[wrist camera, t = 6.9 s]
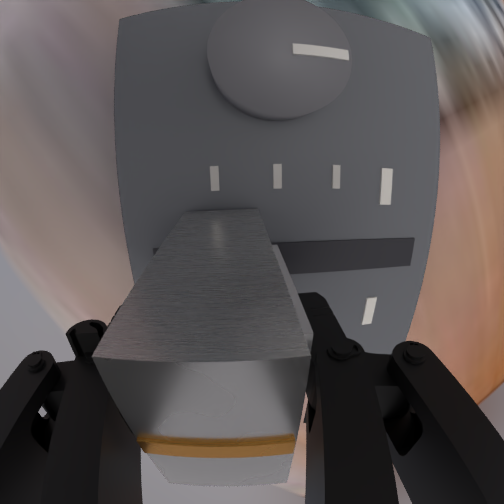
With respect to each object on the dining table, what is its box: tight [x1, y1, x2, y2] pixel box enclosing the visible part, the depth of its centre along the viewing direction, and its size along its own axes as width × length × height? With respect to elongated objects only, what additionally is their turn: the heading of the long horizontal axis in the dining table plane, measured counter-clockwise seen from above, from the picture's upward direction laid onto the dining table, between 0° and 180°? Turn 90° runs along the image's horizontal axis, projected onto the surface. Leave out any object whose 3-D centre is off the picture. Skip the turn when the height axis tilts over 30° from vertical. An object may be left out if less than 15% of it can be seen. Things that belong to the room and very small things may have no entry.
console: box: [114, 0, 440, 354], centre depth 14 cm, size 18×24×5 cm
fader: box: [92, 209, 311, 486], centre depth 9 cm, size 4×6×10 cm, turn 1°
